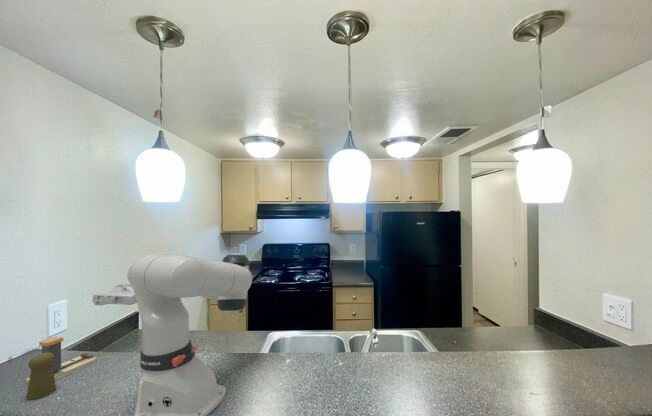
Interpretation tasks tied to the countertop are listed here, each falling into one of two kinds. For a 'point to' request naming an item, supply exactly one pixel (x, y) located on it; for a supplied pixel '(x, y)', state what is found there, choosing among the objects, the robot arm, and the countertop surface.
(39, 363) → the cork
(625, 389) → the countertop surface
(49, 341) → the fader knob
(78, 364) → the fader board
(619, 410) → the countertop surface
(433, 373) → the countertop surface
